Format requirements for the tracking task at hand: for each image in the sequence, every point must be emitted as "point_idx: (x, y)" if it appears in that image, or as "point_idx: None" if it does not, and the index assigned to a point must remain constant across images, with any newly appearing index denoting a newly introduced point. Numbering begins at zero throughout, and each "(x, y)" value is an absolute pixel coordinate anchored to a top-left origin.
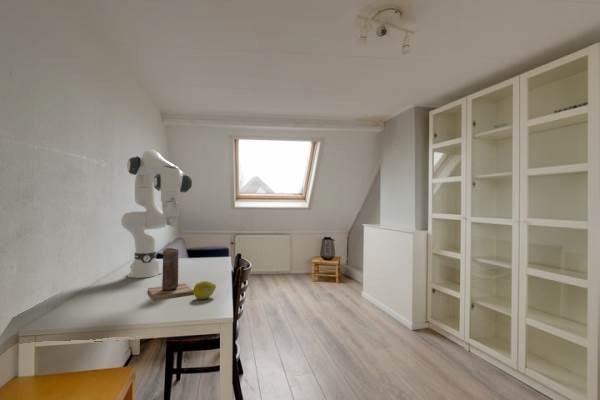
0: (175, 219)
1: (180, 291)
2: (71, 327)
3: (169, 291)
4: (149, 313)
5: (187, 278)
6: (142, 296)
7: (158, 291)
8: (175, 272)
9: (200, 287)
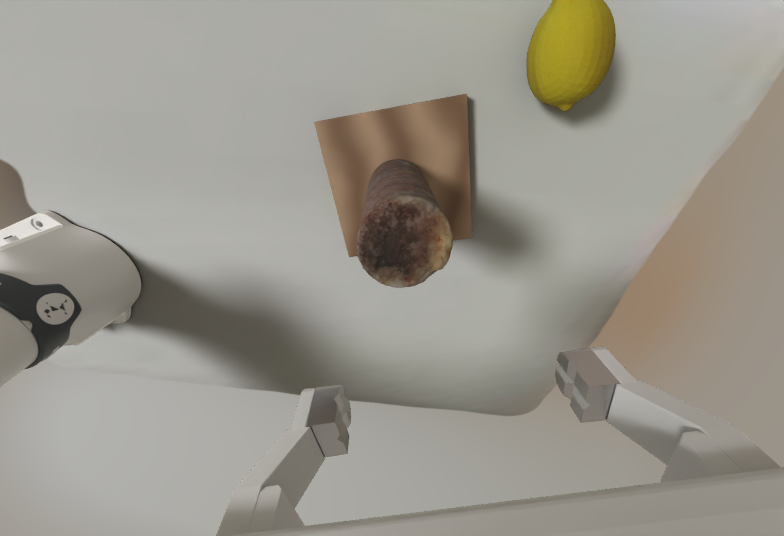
0: (729, 425)
1: (447, 150)
2: None
3: None
4: (589, 241)
5: (161, 95)
6: None
7: None
8: (427, 183)
9: (605, 74)
